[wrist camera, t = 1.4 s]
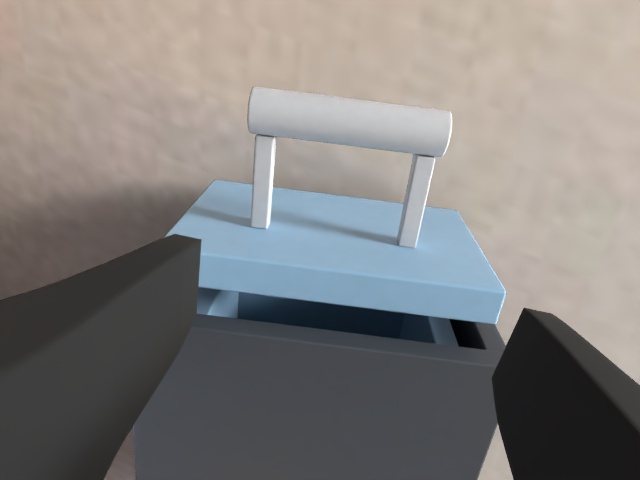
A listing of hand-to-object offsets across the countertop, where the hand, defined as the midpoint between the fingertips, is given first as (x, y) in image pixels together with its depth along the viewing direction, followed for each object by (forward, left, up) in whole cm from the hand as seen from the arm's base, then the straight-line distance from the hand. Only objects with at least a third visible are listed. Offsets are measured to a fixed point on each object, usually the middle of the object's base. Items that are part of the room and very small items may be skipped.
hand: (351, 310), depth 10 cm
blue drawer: (0, -5, -10) cm, 11 cm away
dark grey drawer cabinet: (0, -9, -11) cm, 14 cm away
